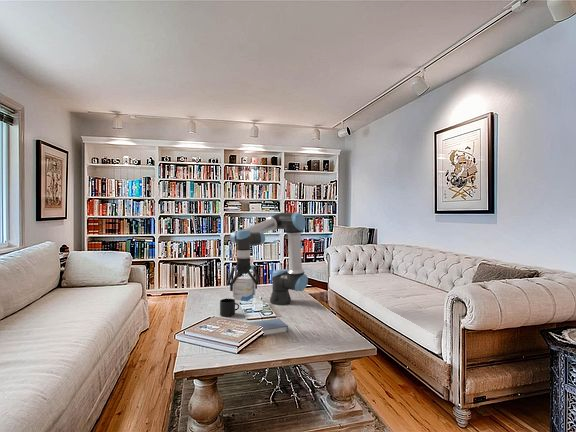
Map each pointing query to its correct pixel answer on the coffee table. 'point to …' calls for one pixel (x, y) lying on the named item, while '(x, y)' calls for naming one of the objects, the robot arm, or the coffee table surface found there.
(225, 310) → the mug
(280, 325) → the book
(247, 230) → the robot arm
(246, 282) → the ink box
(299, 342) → the coffee table surface
